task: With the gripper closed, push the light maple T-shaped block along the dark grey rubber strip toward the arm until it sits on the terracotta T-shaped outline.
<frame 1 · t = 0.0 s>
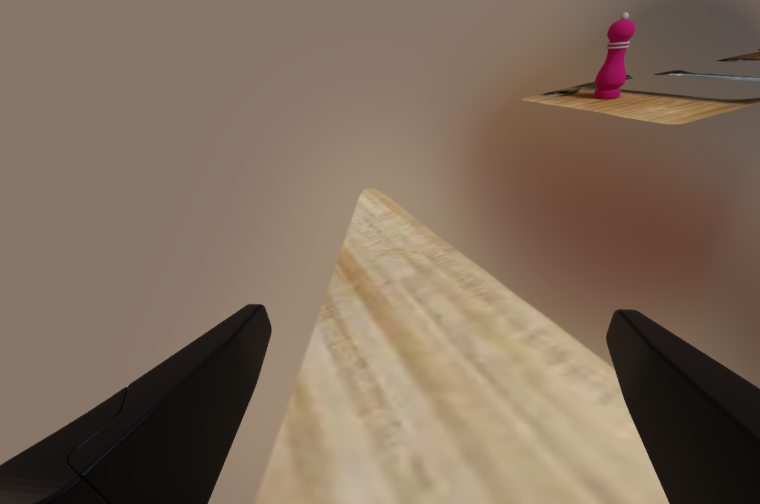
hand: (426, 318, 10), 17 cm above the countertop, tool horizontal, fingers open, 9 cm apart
pepper mill: (606, 97, 102), on the countertop
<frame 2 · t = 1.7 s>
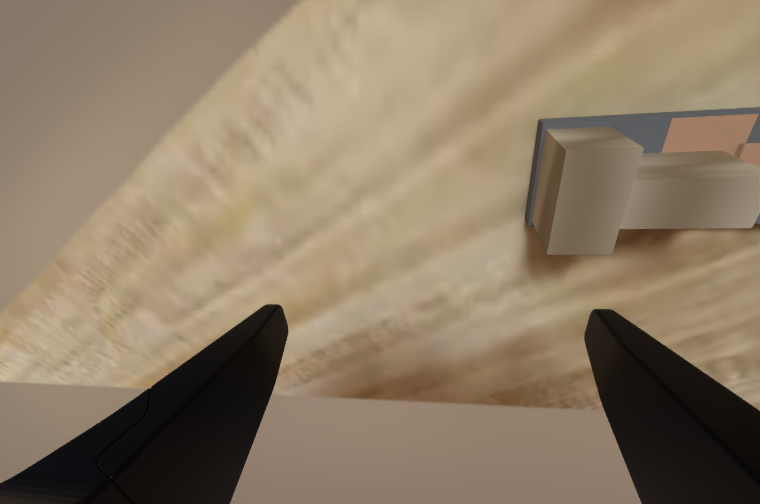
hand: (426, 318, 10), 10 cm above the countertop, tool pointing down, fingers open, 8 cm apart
mat: (682, 167, 16), on the countertop
t block: (628, 176, 16), point 1 cm above the countertop, touching mat
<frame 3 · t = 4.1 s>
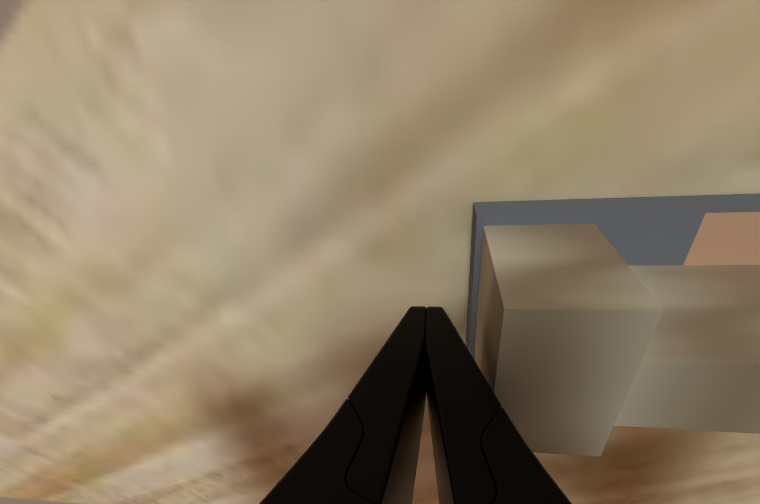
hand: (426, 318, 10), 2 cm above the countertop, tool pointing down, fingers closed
mat: (714, 278, 10), on the countertop
t block: (627, 297, 9), point 1 cm above the countertop, touching gripper, mat
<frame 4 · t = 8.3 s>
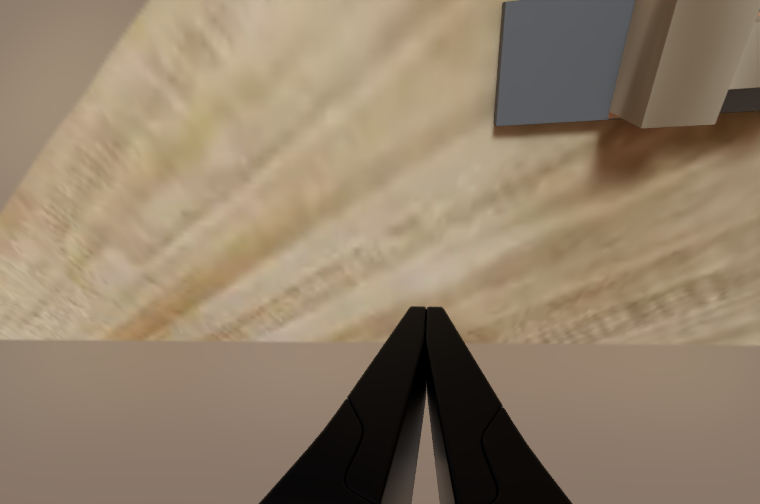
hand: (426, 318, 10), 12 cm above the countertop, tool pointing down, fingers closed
mat: (651, 54, 16), on the countertop
t block: (723, 48, 15), point 1 cm above the countertop, touching mat
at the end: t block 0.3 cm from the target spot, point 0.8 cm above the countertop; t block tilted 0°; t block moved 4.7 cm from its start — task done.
